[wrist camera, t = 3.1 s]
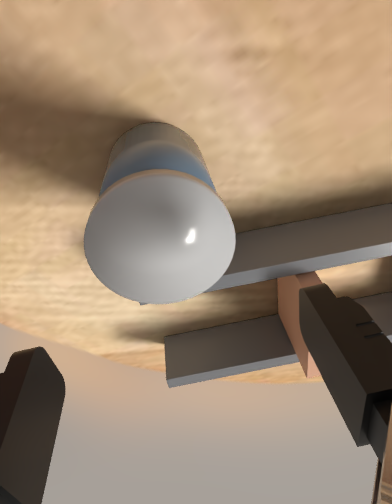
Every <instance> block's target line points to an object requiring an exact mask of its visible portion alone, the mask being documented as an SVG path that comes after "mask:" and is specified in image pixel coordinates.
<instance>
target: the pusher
mask: <svg viewBox="0 0 392 504" xmlns="http://www.w3.org/2000/svg"><path fill="white" fill-rule="evenodd" d="M319 284H323V283H322V282H321V280H320V279H319V277H318V276H317V274H316V273H315V271H311V272H306V273H301V274H296V275H291V276H286V277H281V278H278V314H279V316H280V319H281V321H282V323H283V325H284V328H285V330H286V332H287V334H288V337H289V339H290V341H291V343H292V346H293V348H294V350H295V352H296V355H297V357H298V359H299V361H300V364H301V366H302V368H303V370H304V373H305V375H306V377H307V378H312V377H317V376H321V374H320V372H319V370H318V368H317V366H316V364H315V362H314V360H313V358H312V356H311V354H310V352H309V350H308V348H307V346H306V344H305V342H304V340H303V337H302V334H301V330H300V324H299V290H300V289H301V288H305V287H310V286H314V285H319Z"/></svg>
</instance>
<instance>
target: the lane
mask: <svg viewBox="0 0 392 504" xmlns="http://www.w3.org/2000/svg"><path fill="white" fill-rule="evenodd" d="M235 240H236V243H235V251H234V254H233V258H232V260H231V262H230V265H229V266H228V268H227V270H226V271H225V273H224V274H223V275H222V277H221V278H220V279H219V280H218V281H217V282H216V283H215V284H214V285H212V286H211V287H210V288H209V289H207V290H206V291H204V292H202V293H205V292H210V291H215V290H220V289H225V288H230V287H235V286H240V285H245V284H250V283H255V282H260V281H266V280H271V279H276V278H281V277H286V276H291V275H296V274H301V273H306V272H311V271H316V270H321V269H326V268H331V267H336V266H341V265H346V264H351V263H356V262H361V261H366V260H372V259H377V258H382V257H387V256H392V203H389V204H384V205H379V206H374V207H369V208H364V209H359V210H354V211H349V212H344V213H339V214H334V215H328V216H323V217H318V218H313V219H308V220H303V221H298V222H293V223H288V224H283V225H278V226H273V227H268V228H262V229H257V230H252V231H247V232H242V233H237V234H235ZM352 300H354V301H355V302H357V303H358V304H360V305H362V306H363V307H364V308H365V310H366V311H367V312H368V313H369V315H370V316H371V317H372V319H373V320H374V323H376V324H377V325H378V326H379V328H380V329H381V330H382V331H383V334H384V335H386V336H387V338H388V339H389V340H390V342H391V343H392V292H388V293H383V294H378V295H373V296H368V297H363V298H357V299H352ZM139 303H140V305H144V304H148V303H141V302H139ZM164 344H165V363H166V380H167V383H168V386H169V388H171V387H176V386H181V385H186V384H191V383H196V382H201V381H206V380H211V379H216V378H221V377H226V376H231V375H236V374H241V373H246V372H251V371H256V370H261V369H266V368H271V367H276V366H281V365H286V364H291V363H296V362H300V361H299V359H298V357H297V355H296V352H295V350H294V348H293V346H292V343H291V341H290V339H289V337H288V334H287V332H286V330H285V328H284V325H283V323H282V321H281V319H280V316H279V314H277V315H272V316H267V317H262V318H257V319H252V320H247V321H242V322H237V323H232V324H227V325H222V326H217V327H212V328H207V329H202V330H197V331H192V332H186V333H181V334H176V335H171V336H166V337H164Z"/></svg>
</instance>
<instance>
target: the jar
mask: <svg viewBox="0 0 392 504" xmlns="http://www.w3.org/2000/svg"><path fill="white" fill-rule="evenodd" d="M235 243H236V240H235V230H234V225H233V222H232V219H231V217H230V214H229V212H228V210H227V207H226V206H225V204H224V202H223V200H222V199H221V197H220V196H219V195H218V194H217V192H216V190H215V187H214V185H213V182H212V180H211V177H210V175H209V172H208V169H207V167H206V164H205V162H204V159H203V157H202V154H201V152H200V150H199V148H198V146H197V144H196V143H195V142H194V140H193V139H192V138H191V137H190V136H189V135H188V134H187V133H185V132H184V131H182V130H181V129H179V128H177V127H175V126H172V125H169V124H165V123H145V124H141V125H138V126H136V127H133V128H132V129H130V130H128V131H127V132H126V133H124V134H123V135H122V136H121V137H120V138H119V139H118V140H117V142H116V143H115V145H114V147H113V149H112V151H111V154H110V157H109V161H108V164H107V168H106V172H105V175H104V179H103V183H102V186H101V190H100V194H99V197H98V199H97V201H96V202H95V204H94V206H93V208H92V210H91V212H90V215H89V218H88V222H87V225H86V229H85V234H84V250H85V256H86V258H87V261H88V264H89V266H90V268H91V270H92V271H93V273H94V274H95V275H96V277H97V278H98V279H99V280H100V281H101V282H102V283H103V284H104V285H105V286H106V287H108V288H109V289H110V290H112V291H113V292H115V293H116V294H118V295H120V296H123V297H125V298H127V299H130V300H133V301H137V302H141V303H148V304H169V303H175V302H180V301H184V300H187V299H189V298H192V297H194V296H197V295H199V294H201V293H202V292H204V291H206V290H207V289H209V288H210V287H211V286H212V285H214V284H215V283H216V282H217V281H218V280H219V279H220V278H221V277H222V275H223V274H224V273H225V271H226V270H227V268H228V266H229V265H230V262H231V260H232V258H233V254H234V251H235Z"/></svg>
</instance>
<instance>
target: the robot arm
mask: <svg viewBox="0 0 392 504" xmlns="http://www.w3.org/2000/svg"><path fill="white" fill-rule="evenodd" d="M299 324H300V330H301V334H302V337H303V340H304V342H305V344H306V346H307V348H308V350H309V352H310V354H311V356H312V358H313V360H314V362H315V364H316V366H317V368H318V370H319V372H320V374H321V376H322V378H323V380H324V382H325V384H326V386H327V388H328V390H329V392H330V393H331V395H332V397H333V399H334V401H335V403H336V405H337V407H338V409H339V411H340V413H341V415H342V417H343V419H344V421H345V423H346V425H347V427H348V429H349V431H350V433H351V435H352V437H353V439H354V441H355V443H356V445H357V447H359V446H364V445H368V444H371V446H372V448H373V450H374V451H375V453H376V455H377V457H378V460H377V467H376V474H375V481H374V488H373V495H372V501H371V504H392V343H391V342H390V340H389V339H388V338H387V336H386V335H384V334H383V331H382V330H381V329H380V328H379V326H378V325H377V324H376V323H374V320H373V319H372V317H371V316H370V315H369V313H368V312H367V311H366V310H365V308H364V307H363V306H362V305H360V304H358V303H357V302H355V301H354V300H352V299H351V298H349V297H347V296H345V297H341V298H336V297H335V295H334V294H333V292H332V291H331V290H330V288H329V287H328V286H327V285H326V284H325V283H323V284H319V285H314V286H310V287H305V288H301V289H300V290H299ZM64 398H65V382H64V379H63V376H62V374H61V373H60V371H59V370H58V369H57V367H56V365H55V364H54V363H53V361H52V359H51V358H50V357H49V355H48V353H47V352H46V350H45V349H44V348H43V347H35V348H31V349H27V350H22V351H18V352H15V353H13V354H12V356H11V357H10V360H9V362H8V365H7V367H6V369H5V372H4V373H0V504H41V503H42V498H43V494H44V489H45V485H46V480H47V476H48V471H49V466H50V462H51V457H52V453H53V448H54V444H55V439H56V435H57V430H58V425H59V420H60V416H61V412H62V407H63V402H64Z"/></svg>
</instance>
